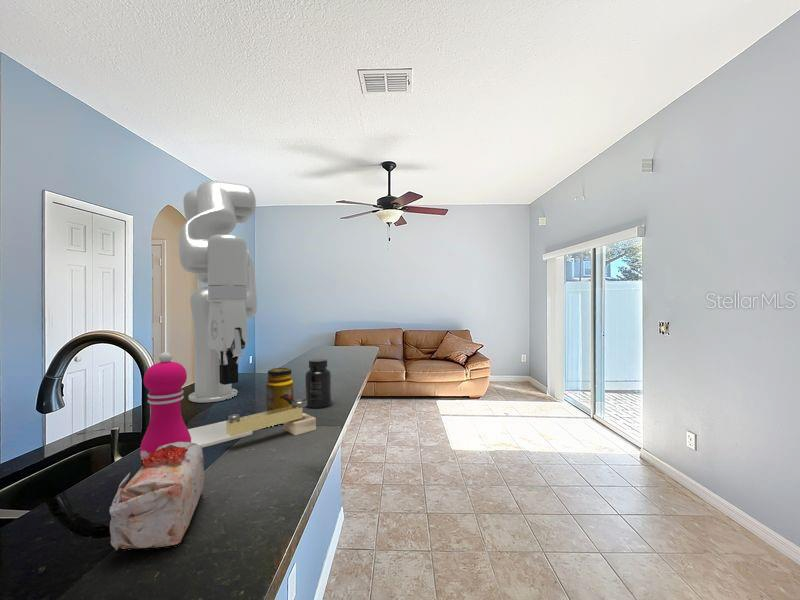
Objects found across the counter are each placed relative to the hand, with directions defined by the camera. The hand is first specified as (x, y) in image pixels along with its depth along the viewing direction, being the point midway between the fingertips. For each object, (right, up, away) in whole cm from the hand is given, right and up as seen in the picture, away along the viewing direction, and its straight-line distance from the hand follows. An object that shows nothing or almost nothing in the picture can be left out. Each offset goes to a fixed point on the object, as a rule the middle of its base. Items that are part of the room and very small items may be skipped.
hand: (229, 383), depth 79 cm
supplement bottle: (+14, -11, +22) cm, 28 cm away
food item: (+5, -12, -30) cm, 33 cm away
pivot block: (+14, -11, +4) cm, 18 cm away
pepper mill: (-3, -11, -17) cm, 21 cm away
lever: (+9, -8, -1) cm, 12 cm away
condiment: (+7, -11, +9) cm, 16 cm away
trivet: (-3, -11, +1) cm, 11 cm away
